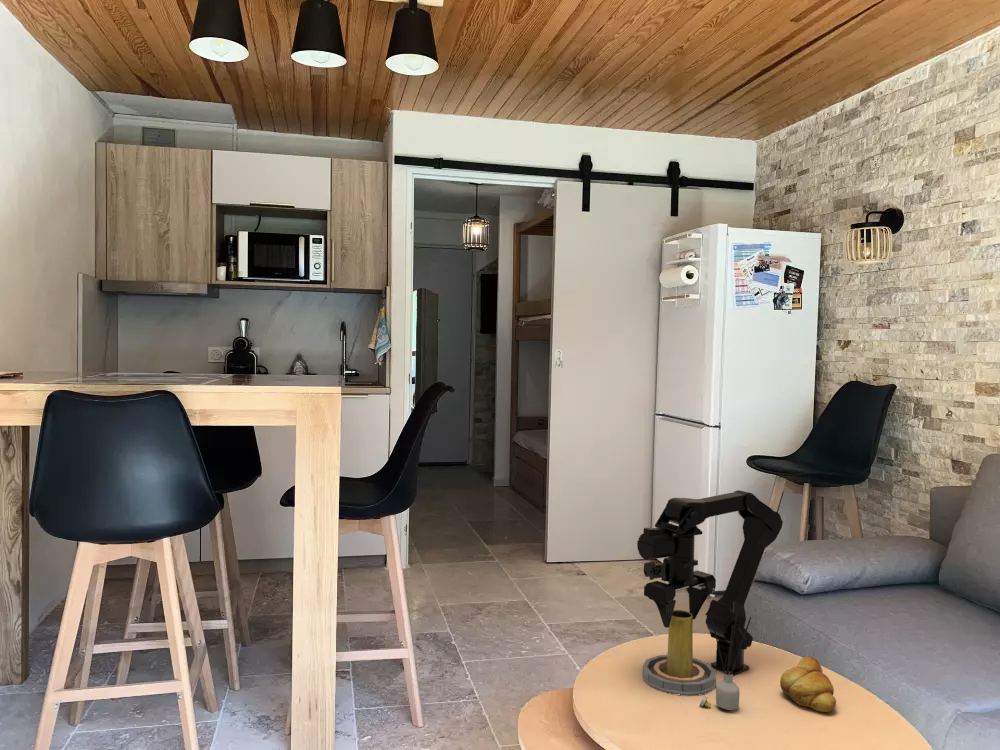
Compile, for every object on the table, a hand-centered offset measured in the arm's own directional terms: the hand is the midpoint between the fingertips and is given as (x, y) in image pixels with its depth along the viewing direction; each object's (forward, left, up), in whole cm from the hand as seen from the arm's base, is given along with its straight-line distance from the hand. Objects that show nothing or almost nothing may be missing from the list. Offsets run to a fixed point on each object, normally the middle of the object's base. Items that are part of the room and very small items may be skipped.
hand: (679, 623), depth 168 cm
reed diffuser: (+4, +15, -13) cm, 21 cm away
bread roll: (-14, +24, -13) cm, 30 cm away
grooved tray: (0, 0, -13) cm, 13 cm away
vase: (0, 0, -12) cm, 12 cm away
